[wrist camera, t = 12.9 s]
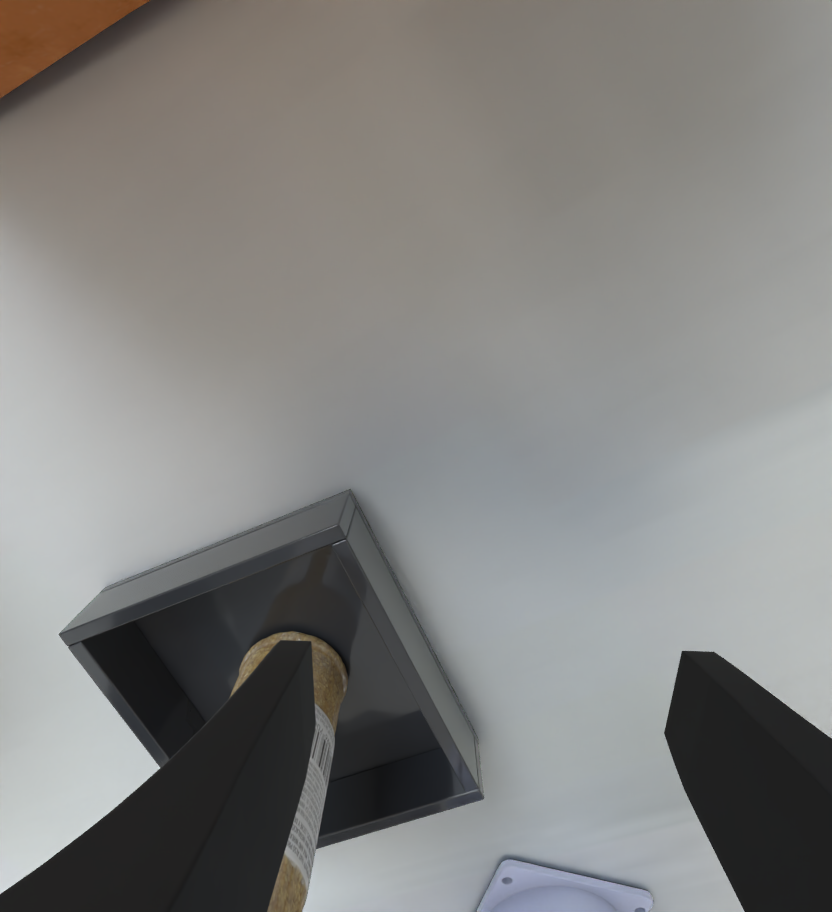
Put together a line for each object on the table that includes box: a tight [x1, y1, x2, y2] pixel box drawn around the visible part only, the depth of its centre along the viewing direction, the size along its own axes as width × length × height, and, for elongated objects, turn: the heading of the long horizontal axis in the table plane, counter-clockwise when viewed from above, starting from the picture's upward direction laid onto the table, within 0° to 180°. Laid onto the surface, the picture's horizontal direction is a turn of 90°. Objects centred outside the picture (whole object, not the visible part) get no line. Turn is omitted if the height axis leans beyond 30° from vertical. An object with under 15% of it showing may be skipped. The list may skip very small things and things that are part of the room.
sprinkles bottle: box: [229, 631, 348, 912], centre depth 17 cm, size 5×5×13 cm
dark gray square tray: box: [59, 489, 484, 849], centre depth 22 cm, size 13×11×3 cm
